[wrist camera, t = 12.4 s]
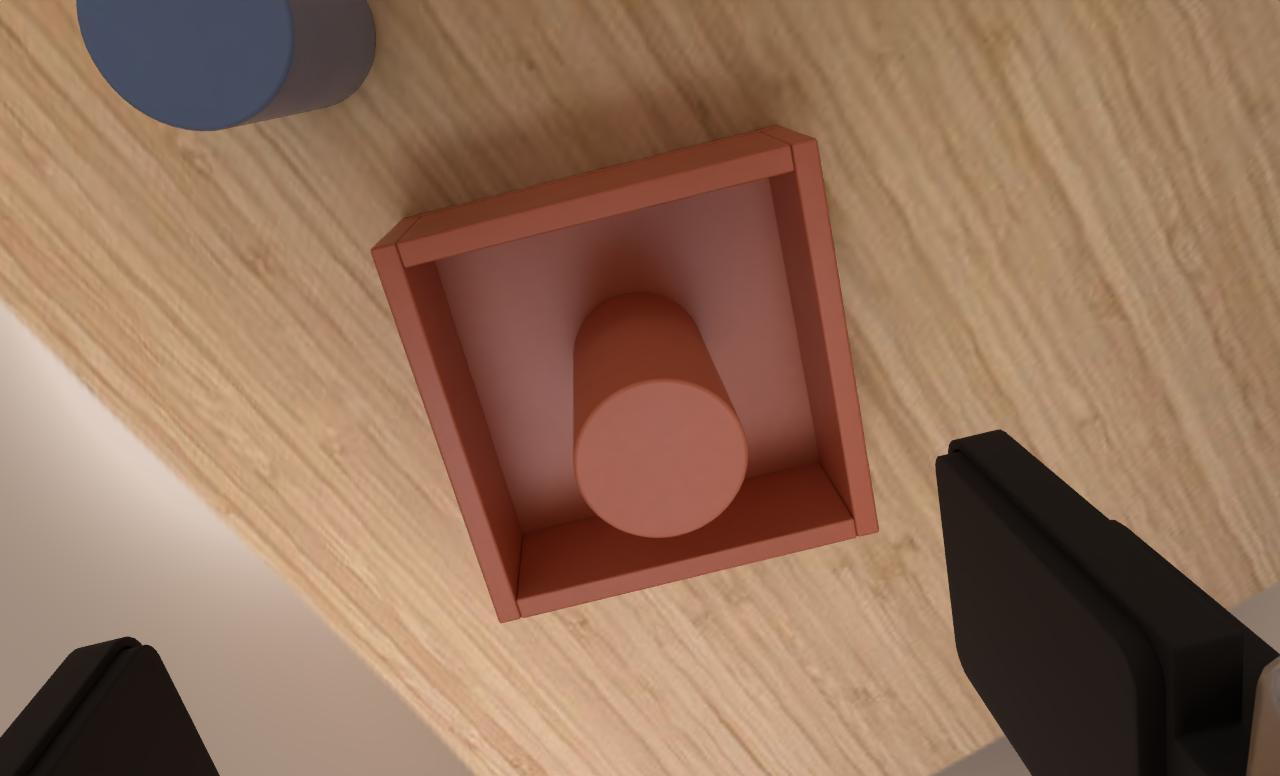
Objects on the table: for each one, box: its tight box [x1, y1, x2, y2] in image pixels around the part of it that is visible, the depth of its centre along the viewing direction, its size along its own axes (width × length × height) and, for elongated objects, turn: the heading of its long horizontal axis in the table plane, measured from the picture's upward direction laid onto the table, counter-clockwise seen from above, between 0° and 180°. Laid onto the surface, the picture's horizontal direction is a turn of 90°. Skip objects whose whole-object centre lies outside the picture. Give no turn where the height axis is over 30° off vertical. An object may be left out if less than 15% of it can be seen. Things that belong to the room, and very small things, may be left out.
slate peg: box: [76, 0, 375, 131], centre depth 19 cm, size 4×4×7 cm
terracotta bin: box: [371, 125, 879, 623], centre depth 24 cm, size 10×10×4 cm
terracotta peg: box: [573, 292, 748, 538], centre depth 22 cm, size 4×4×7 cm
